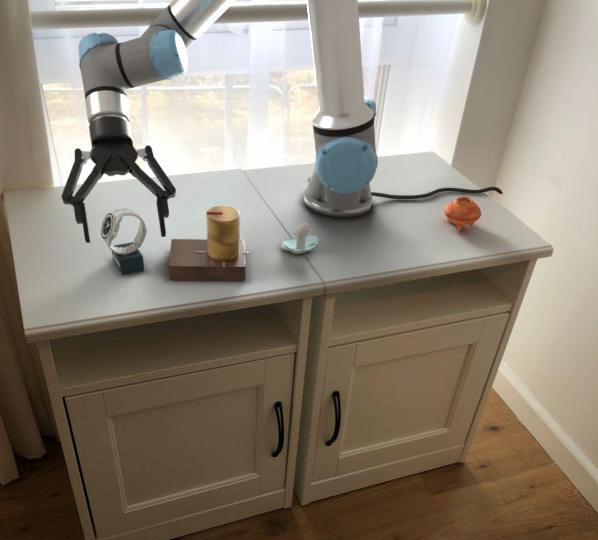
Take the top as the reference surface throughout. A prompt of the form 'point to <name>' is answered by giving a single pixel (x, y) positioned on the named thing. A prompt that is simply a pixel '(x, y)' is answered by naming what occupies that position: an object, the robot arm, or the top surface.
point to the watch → (127, 253)
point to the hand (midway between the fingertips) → (126, 237)
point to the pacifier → (300, 241)
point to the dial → (223, 232)
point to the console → (203, 262)
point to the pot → (462, 212)
